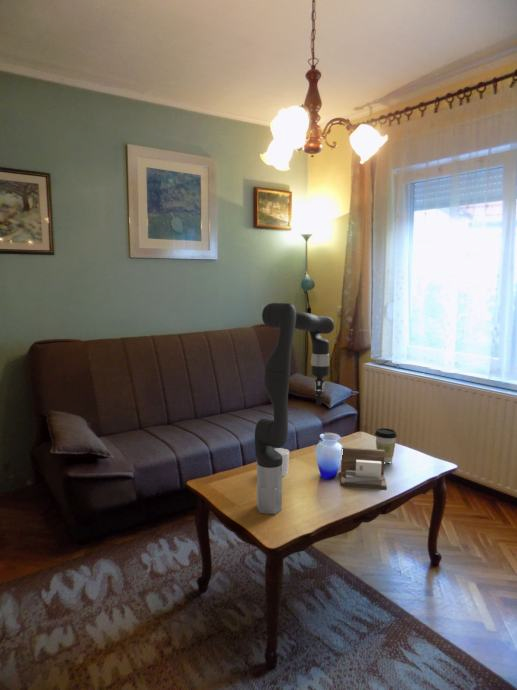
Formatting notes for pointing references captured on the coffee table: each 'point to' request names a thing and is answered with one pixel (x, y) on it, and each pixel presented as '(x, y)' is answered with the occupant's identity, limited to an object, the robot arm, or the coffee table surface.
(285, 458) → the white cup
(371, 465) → the white thin panel
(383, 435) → the coffee cup
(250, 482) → the coffee table surface
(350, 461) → the base
